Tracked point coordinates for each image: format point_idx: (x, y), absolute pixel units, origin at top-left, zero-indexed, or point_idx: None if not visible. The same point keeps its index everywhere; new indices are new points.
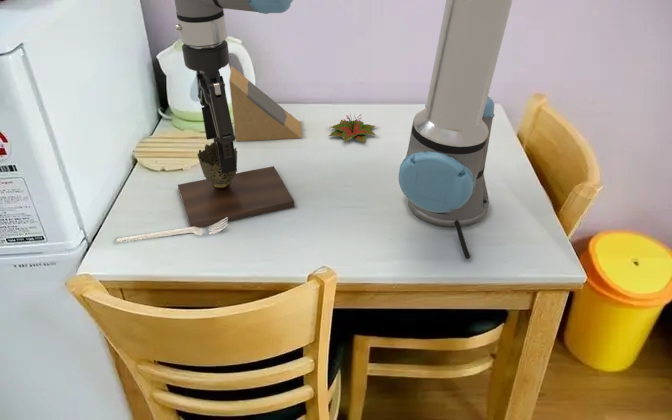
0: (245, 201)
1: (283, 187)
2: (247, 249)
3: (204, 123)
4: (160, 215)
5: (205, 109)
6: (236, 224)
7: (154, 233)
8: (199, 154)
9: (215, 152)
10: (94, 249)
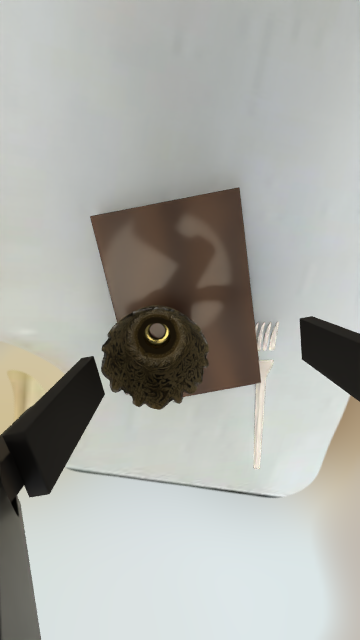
0: (218, 288)
1: (183, 204)
2: (332, 292)
3: (82, 433)
4: (206, 419)
5: (47, 476)
6: (260, 306)
7: (259, 426)
8: (149, 402)
9: (114, 358)
10: (266, 489)
